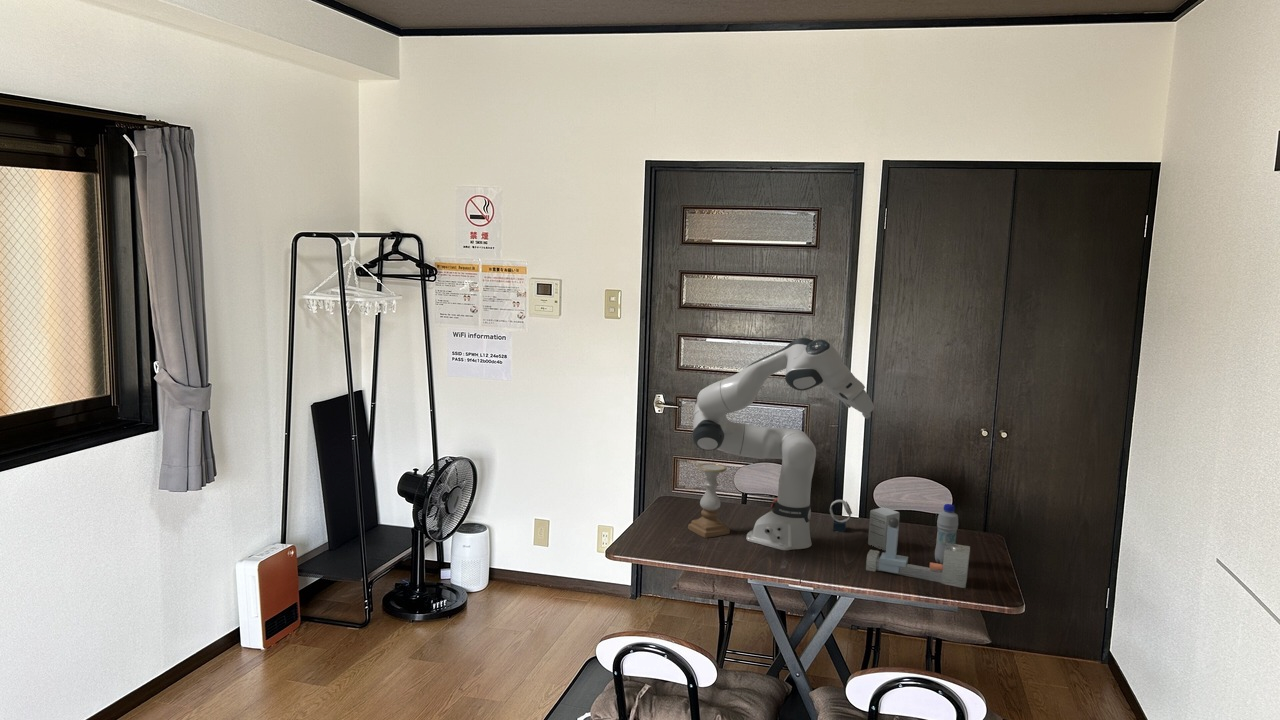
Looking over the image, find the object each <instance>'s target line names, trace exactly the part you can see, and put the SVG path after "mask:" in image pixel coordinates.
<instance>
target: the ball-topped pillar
mask: <svg viewBox="0 0 1280 720" xmlns="http://www.w3.org/2000/svg"><path fill="white" fill-rule="evenodd" d="M888 523H889V526H888V530H887V543H886V550H885V551H884V552H881V555H880V556H879V559H880V561H879V570H882V571H888V572H893V573H899V566H901V567H906V565H907V564H908V562H909V556H905V555H899V554H897V552H898V543H897V542H898V541H899V531H900V529H899V527H900V520H899V521H898V519H897V518H895V517H892V518H890V519H889V521H888ZM898 525H899V526H898ZM882 571H881V572H882ZM888 572H887V573H888ZM893 573H892V574H893Z"/></svg>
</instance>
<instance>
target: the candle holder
mask: <svg viewBox="0 0 1280 720" xmlns="http://www.w3.org/2000/svg"><path fill="white" fill-rule="evenodd" d="M697 469H698V470H699V471H701V472H703V473H704V474H705V476H706V479H705V482H704V483H703V485H704V487H705V489H706V490H705V493H704V494H703V495H702V497H701V499H700V501H699V505H700V507H701V508H702V510H701V512H700V514H701V517H699V518H697V519H693V520H691V521H690V522H691V523H688V524H687V525H688V526H687V528H688V530H689V531H691V532H693V533H695V534H696V535H698V536H700V537H702V538H704V539H709V538H713V537H721V536H727V535H730V528H729V527H728V525H727V524H726V523H725V522H723V521H721V519H720V518H718V516H719V512H718V509H719V508H720V507H721V500H720V498H719V496H718V494H717V492H716V490H717V488H718V487H719V485H720V484H719V482H718V481H717V477H718V476H719V475H720V474H721V473H725V472H726V471H727V467H726V465H723V464H719V463H711V462H709V463H708V462H707V463H700V464H698V465H697Z"/></svg>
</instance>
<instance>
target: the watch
mask: <svg viewBox="0 0 1280 720" xmlns="http://www.w3.org/2000/svg"><path fill="white" fill-rule="evenodd" d="M837 503H841V504H843V505H842V506H843V508H844V510H845V512H846V513H847V515H848V517H847V518H845V519H841V518H837V517H836V515H835V513H834V511H833V506H834V505H835V504H837ZM829 513H830V516H831V518H832V519H833V528H832V531H833V532H836V531H838V532H839V533H846V528H847V525H846V524H847V521H849V520H850V518H851V515H852V514H853V511H852V509H851V506H850V505H849V503H848V502H847V500H844V499H836V500H834V501H832V502H831V504H830V507H829Z"/></svg>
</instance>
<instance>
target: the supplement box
mask: <svg viewBox="0 0 1280 720" xmlns="http://www.w3.org/2000/svg"><path fill="white" fill-rule="evenodd" d="M869 511H870V512H869V523H868V524H869V525H868V537H867V540H868V541H867V544H868V545H869V546H871V545H872V546H871V547H873V546H874V547H873V548H875V549H876V548H877V549H879V550H881V549H882V551H886V543H887V530H888V526H889V523H888V521H889V519H890V518H892V517H895V518H897V519H898V521H899V522H900V512H899V511H896V510H893V509H891V508H887V507H883V506H882V507H879V508H875V509H874V508H873V509H871V510H869ZM898 526H899V527H900V524H899V525H898ZM897 544H898V542H897Z"/></svg>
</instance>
